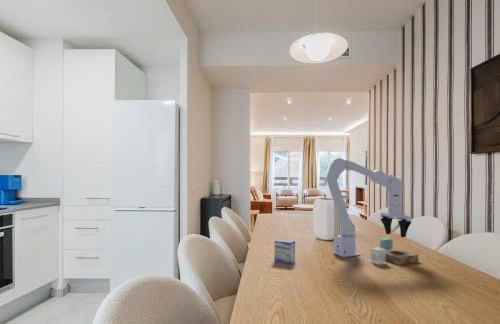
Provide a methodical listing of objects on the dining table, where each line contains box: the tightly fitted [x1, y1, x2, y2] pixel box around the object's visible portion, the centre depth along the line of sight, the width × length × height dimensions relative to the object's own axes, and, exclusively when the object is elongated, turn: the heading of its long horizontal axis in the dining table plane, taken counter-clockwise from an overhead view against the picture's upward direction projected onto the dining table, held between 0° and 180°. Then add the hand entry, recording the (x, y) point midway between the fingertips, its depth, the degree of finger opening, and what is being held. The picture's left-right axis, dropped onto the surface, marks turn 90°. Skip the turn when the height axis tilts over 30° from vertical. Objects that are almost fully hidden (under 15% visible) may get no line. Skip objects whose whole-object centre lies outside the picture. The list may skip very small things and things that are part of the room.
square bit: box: [370, 246, 387, 266], centre depth 122 cm, size 4×4×6 cm
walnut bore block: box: [386, 248, 419, 266], centre depth 126 cm, size 11×11×3 cm
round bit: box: [379, 237, 394, 250], centre depth 140 cm, size 6×6×6 cm
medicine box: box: [273, 239, 296, 265], centre depth 125 cm, size 8×4×9 cm, turn 62°
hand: (395, 235), depth 131 cm, fingers open, 7 cm apart
